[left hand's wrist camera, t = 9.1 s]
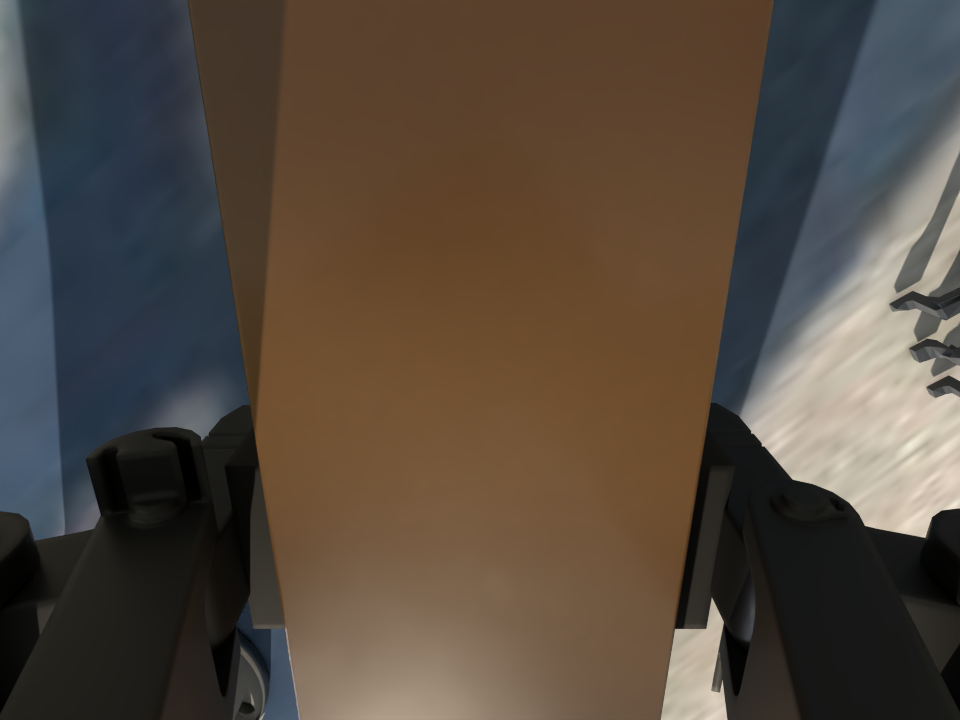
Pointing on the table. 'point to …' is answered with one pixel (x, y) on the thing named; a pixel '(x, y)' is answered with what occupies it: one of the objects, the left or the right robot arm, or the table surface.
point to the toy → (932, 348)
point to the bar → (480, 331)
